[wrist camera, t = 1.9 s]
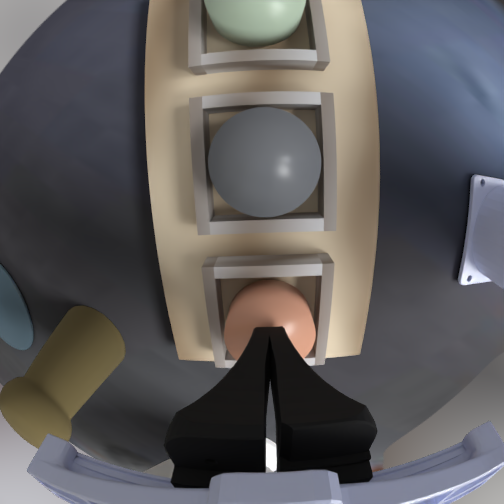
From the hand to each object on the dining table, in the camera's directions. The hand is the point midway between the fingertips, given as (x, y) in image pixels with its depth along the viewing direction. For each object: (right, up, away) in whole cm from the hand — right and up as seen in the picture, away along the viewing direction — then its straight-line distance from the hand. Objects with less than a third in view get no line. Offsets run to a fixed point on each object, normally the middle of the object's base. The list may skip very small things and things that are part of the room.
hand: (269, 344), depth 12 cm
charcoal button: (0, +8, 0) cm, 8 cm away
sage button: (-1, +16, -3) cm, 16 cm away
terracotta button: (0, +1, +2) cm, 2 cm away
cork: (-14, -3, +7) cm, 15 cm away
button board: (0, +9, +2) cm, 9 cm away
